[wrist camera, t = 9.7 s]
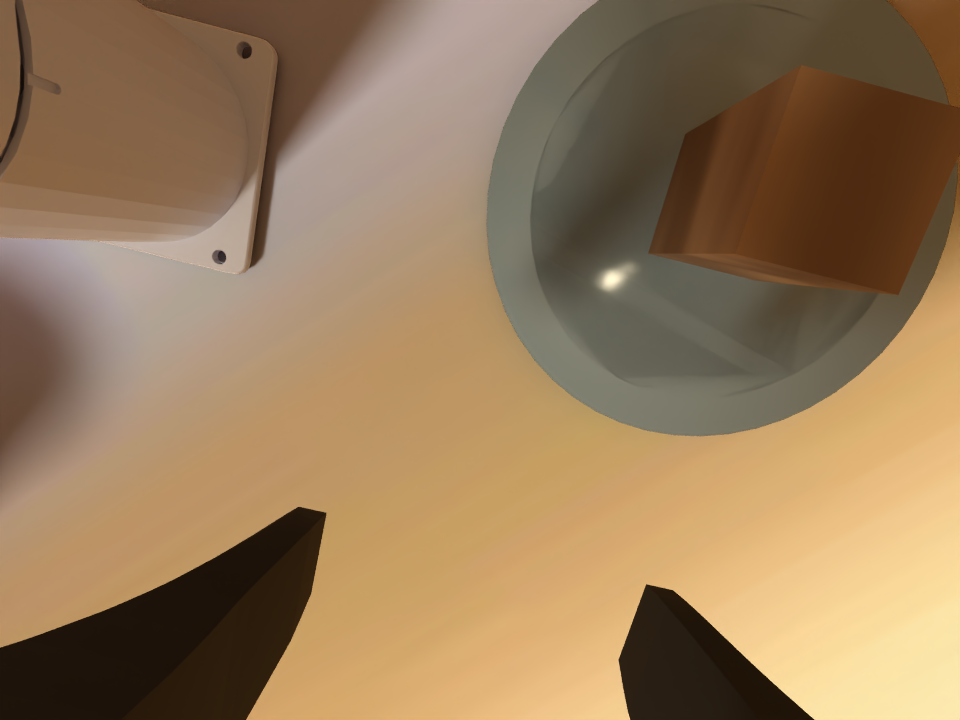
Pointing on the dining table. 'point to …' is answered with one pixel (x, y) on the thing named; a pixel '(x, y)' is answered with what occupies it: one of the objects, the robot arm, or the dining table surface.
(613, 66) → the dish
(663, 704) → the robot arm
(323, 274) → the dining table surface
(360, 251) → the dining table surface
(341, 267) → the dining table surface
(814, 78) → the walnut block
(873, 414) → the dining table surface
